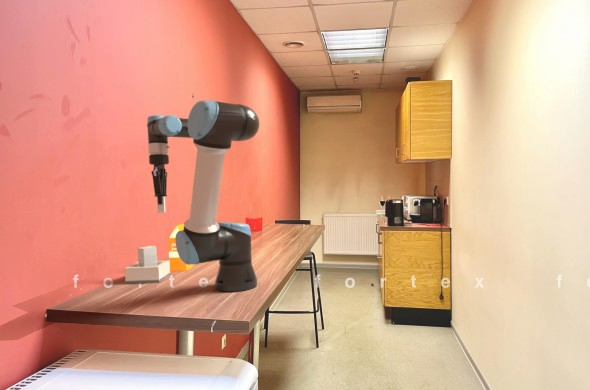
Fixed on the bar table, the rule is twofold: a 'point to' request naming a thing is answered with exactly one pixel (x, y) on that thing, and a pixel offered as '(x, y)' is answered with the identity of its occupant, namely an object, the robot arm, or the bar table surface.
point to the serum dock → (147, 273)
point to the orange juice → (174, 258)
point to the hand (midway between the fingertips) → (161, 212)
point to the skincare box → (147, 256)
